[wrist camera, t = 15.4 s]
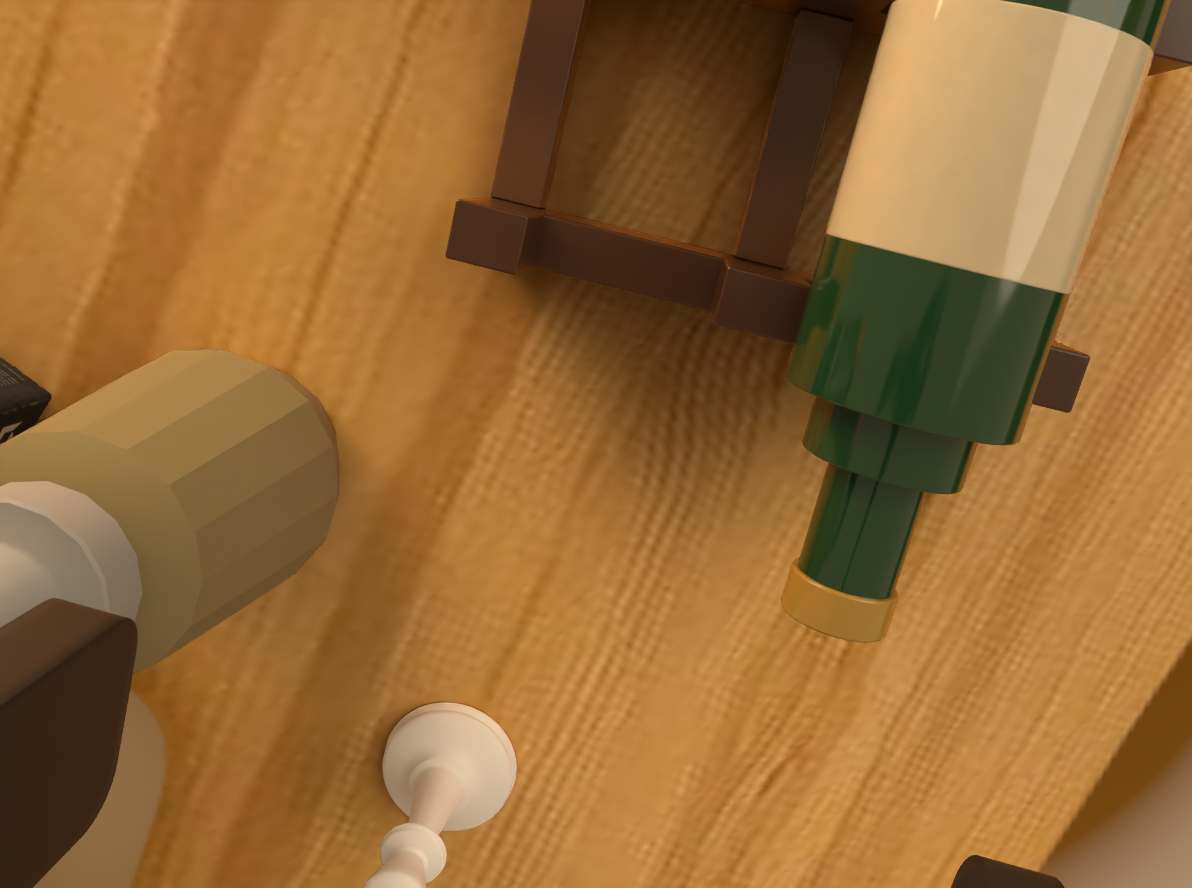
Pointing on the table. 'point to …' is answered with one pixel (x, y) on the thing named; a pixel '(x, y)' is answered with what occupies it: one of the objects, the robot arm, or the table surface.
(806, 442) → the bottle
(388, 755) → the chess piece
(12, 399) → the graphics card box
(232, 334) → the table surface
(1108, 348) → the table surface
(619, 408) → the table surface
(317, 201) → the table surface
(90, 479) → the squeeze bottle
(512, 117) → the rack
